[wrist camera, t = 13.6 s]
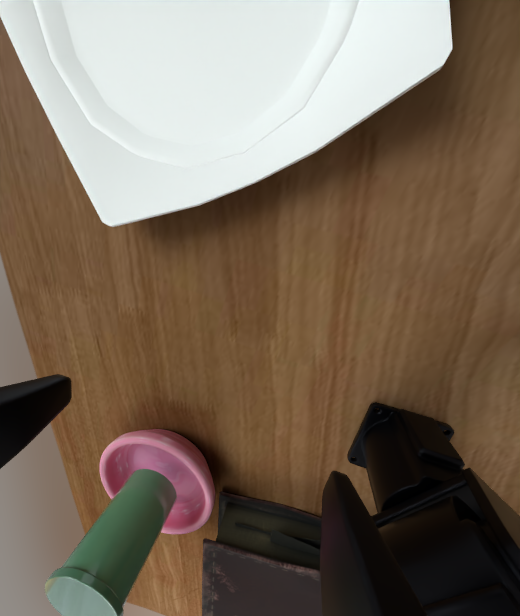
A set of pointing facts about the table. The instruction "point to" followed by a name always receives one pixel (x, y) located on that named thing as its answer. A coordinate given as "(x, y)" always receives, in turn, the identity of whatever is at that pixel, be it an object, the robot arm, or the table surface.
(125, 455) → the saucer
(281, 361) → the table surface
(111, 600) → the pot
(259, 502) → the diary
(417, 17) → the plate
